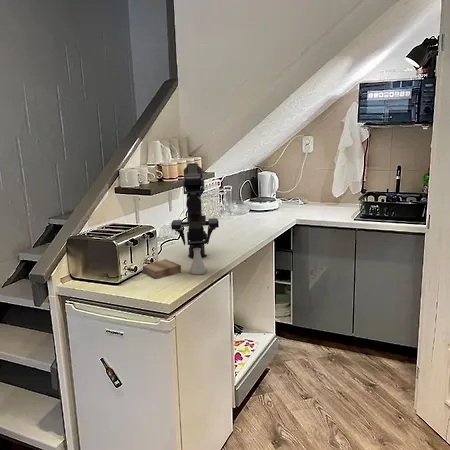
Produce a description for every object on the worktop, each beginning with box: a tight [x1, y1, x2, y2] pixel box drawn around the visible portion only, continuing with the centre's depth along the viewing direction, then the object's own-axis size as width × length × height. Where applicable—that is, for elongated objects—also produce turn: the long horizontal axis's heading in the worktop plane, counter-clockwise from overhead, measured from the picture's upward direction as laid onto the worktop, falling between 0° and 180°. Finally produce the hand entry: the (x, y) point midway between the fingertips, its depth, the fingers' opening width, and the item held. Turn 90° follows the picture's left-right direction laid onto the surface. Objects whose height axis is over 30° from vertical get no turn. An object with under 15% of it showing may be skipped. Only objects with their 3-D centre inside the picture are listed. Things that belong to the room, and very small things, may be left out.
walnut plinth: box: [141, 258, 182, 280], centre depth 189 cm, size 12×12×3 cm
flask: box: [189, 248, 208, 276], centre depth 186 cm, size 7×7×10 cm
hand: (196, 244), depth 185 cm, fingers open, 9 cm apart
